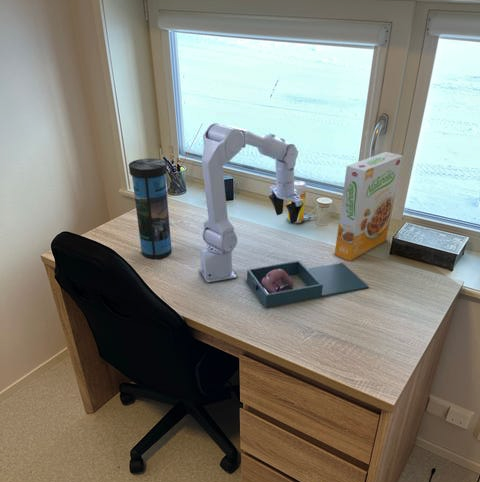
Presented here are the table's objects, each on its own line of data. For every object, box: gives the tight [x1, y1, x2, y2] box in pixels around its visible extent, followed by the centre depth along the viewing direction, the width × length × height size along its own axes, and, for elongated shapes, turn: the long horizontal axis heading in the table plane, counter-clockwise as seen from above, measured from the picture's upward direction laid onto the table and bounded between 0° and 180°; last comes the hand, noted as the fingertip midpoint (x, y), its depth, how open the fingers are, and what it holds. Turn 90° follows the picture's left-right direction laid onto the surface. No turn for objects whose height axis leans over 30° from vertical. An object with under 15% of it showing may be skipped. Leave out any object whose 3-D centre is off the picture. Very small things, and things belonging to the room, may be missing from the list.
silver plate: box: [258, 280, 293, 294], centre depth 137 cm, size 9×12×1 cm
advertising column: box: [128, 158, 173, 260], centre depth 148 cm, size 11×11×30 cm
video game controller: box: [261, 269, 294, 294], centre depth 136 cm, size 10×5×7 cm, turn 141°
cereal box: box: [334, 151, 404, 262], centre depth 153 cm, size 22×6×30 cm, turn 135°
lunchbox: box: [246, 260, 369, 309], centre depth 139 cm, size 34×15×4 cm, turn 110°
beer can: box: [287, 180, 307, 224], centre depth 175 cm, size 6×6×15 cm
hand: (286, 218), depth 155 cm, fingers open, 7 cm apart
